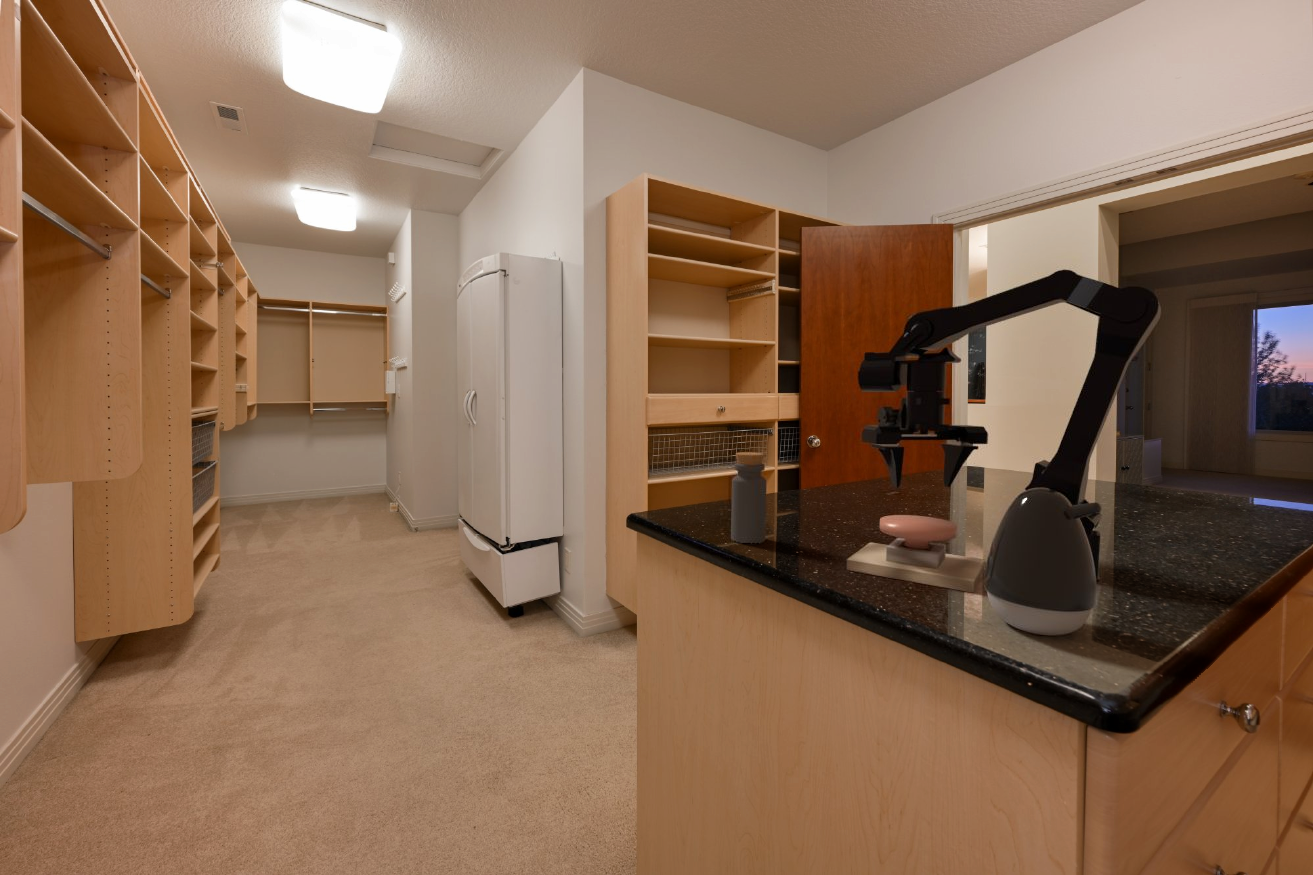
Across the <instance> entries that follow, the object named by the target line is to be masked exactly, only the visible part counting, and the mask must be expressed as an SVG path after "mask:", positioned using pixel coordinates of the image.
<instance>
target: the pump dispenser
mask: <svg viewBox="0 0 1313 875" xmlns="http://www.w3.org/2000/svg"><path fill="white" fill-rule="evenodd" d="M1102 511H1103V510H1102V505H1101V504H1100V503H1099V502H1089V503H1087V504H1080V505H1072V504H1071V503H1070V502H1069V500H1068V499H1067V498H1066V497H1065V496H1064V495H1062V494H1061V493H1059V492H1057V491H1055V490H1052V489H1049V488H1032V489H1029V490H1024V491H1022V492H1020V493H1019V494H1018V495H1017V496H1016V497H1015V498H1014V499H1013V501H1012V502H1011V503H1010V504H1009V506H1008V508H1007V509H1006V511H1005V512H1004V513H1003V516H1002V518H1001V520H1000V522H999V524H998V526H997V528H996V531H995V533H994V535H993V538H992V542H991V544H990V547H989V550H988V554H987V560H986V565H985V567H984V572H983V574H984V575H983V588H984V590H986V592H987V598H988V600H989V603H990V605H991V608H992V609H993V610H994V612H995V614H996V615H998V617H999V618H1000V619H1002V621H1004V622H1005V623H1007V624H1008V625H1010V626H1012V627H1014V628H1015V629H1018V630H1021V631H1023V632H1027V633H1030V634H1034V635H1040V636H1062V635H1067V634H1071V633H1073V632H1076V631H1077V630H1078V629H1080V628H1081V627H1082V626H1083V625H1085V623H1086V622H1087V621H1088V619H1089V617H1090V615H1091V613H1092V611H1093V609H1094V608H1096V607H1097V603H1098V602H1097V601H1098V587H1097V586H1098V584H1097V583H1098V582H1096V574H1095V567H1094V561H1093V556H1092V552H1091V548H1090V545H1089V541H1088V538H1087V535H1086V533H1085V530H1084V527H1083V525H1082V523H1081V520H1080V518H1081V517H1085V516H1089V515H1092V514H1094V513H1101V512H1102Z"/></svg>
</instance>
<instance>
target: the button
mask: <svg viewBox="0 0 1313 875" xmlns="http://www.w3.org/2000/svg"><path fill="white" fill-rule="evenodd" d="M879 531H881V533H884V534H886V535H888V536H892V537H896V538H903V539H905V542H904V545H905V546H907V547H911V548H917V549H926V548H929V542H938V541H939V542H940V541H941V542H942V541H951V540H954V539H956V538H957V534H958V533H957V532H958V525H957V524H956V523H954V522H952V521H950V520H946V519H942V518H938V517H931V516H923V515H914V514H913V515H911V514H910V515H909V514H893V515H886V516H882V517H880V519H879Z"/></svg>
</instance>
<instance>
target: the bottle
mask: <svg viewBox="0 0 1313 875" xmlns="http://www.w3.org/2000/svg"><path fill="white" fill-rule="evenodd" d="M764 456H765V454H764V453H762V452H754V451H753V452H752V451H751V452H749V451H748V452H747V451H746V452H745V451H744V452H743V451H742V452H736V453H735V457H736V463H734V470H736V471H737V475H735V476H734V477H733V478H732V479H731V512H730V513H731V517H730V518H731V523H730V524H731V525H730V526H731V527H730V538H731V541H732V540H733V542H734V541H736V542H735V543H737V542H740V543H739V544H742V543H751V544H750V545H753V544H752V543H755V544H754V545H757V544H756V543H759V544H763V543H765V542H764V541H766V532H767V531H766V530H767V528H766V527H767V526H766V525H767V479H766V478H765V477H764V476H762V471H765V468H766V465H765V464H764V463H763V459H764ZM762 542H763V543H762Z"/></svg>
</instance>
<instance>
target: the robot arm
mask: <svg viewBox="0 0 1313 875" xmlns="http://www.w3.org/2000/svg"><path fill="white" fill-rule="evenodd" d="M1061 303H1062V304H1063V303H1066V304H1068V305H1070V306H1073V307H1075V308H1077V309H1079V310H1082V311H1084V312H1087V313H1088V314H1092V315H1093V316H1097V317H1098V324H1097V328H1096V339H1095V348H1094V356H1093V359H1092V361H1091V364H1090V367H1089V369H1088V371H1087V374H1086V377H1085V379H1084V382H1083V384H1082V387H1081V388H1080V393H1079V394H1078V398H1077V399H1076V402H1075V405H1074V407H1073V409H1072V413H1071V415H1070V417H1069V420H1068V421H1067V422H1068V423H1067V425H1066V427H1065V431H1064V432H1063V436H1062V437H1061V441H1060V443H1059V446H1058V448H1057V451H1056V453H1055V454H1054V456H1053V457H1052V459H1051V460H1050V461H1048V460H1046V459H1043V460H1041V461H1038V462H1036V463H1034V466H1033V472H1032V478H1031V480H1030V482H1029V484H1028V485H1027V486H1026V487H1025V488H1024V491H1026V490H1029V489H1032V488H1049V489H1052V490H1055V491H1057V492H1059V493H1061V494H1062V495H1064V496H1065V497H1066V498H1067V499H1068V500H1069V502H1070V503H1071V504H1072V505H1080V504H1087V503H1090V502H1089V501H1088V500H1087V499H1086V491H1087V486H1088V481H1089V480H1088V479H1089V472H1090V461H1091V458H1092V455H1093V453H1094V450H1095V447H1096V445H1097V443H1098V440H1099V438H1100V436H1101V432H1102V430H1103V428H1104V426H1105V423H1106V421H1107V418H1108V416H1109V413H1110V411H1111V408H1112V406H1113V404H1114V401H1115V398H1116V396H1117V393H1118V391H1119V388H1120V387H1121V383H1122V381H1123V379H1124V376H1125V375H1126V372H1127V369H1128V367H1129V365H1130V363H1131V361H1132V360H1133V358H1134V357H1135V356H1136V355H1137V353H1138V352H1139V351H1140V349H1141V347H1142V346H1143V345H1144V343H1145V342H1146V340H1147V339H1148V337H1149V336H1150V334H1151V333H1152V331H1153V330H1154V328H1155V326H1156V325H1157V324H1158V322H1159V320H1160V318H1161V314H1162V310H1161V309H1162V308H1161V304H1160V302H1159V299H1158V298H1157V296H1156V295H1155V293H1154V292H1152V291H1151V290H1150V289H1148V288H1146V287H1141V286H1139V285H1138V286H1137V285H1136V286H1126V287H1122V288H1120V287H1118V286H1115V285H1113V284H1109V283H1106V282H1103V281H1100V280H1097V279H1093V278H1090V277H1086V276H1083V275H1080V274H1078V273H1077V272H1075V271H1073V270H1071V269H1060V270H1056V271H1055V272H1053V273H1051V274H1049V275H1047V276H1045V277H1042V278H1039V279H1036V280H1033V281H1030V282H1027V283H1025V284H1024V283H1023V284H1021V285H1019V286H1016V287H1012V288H1009V289H1006V290H1005V291H1001V292H998V293H995V294H993V295H990V296H987V297H984V298H981V299H978V300H975V301H973V302H970V303H969V302H968V303H967V304H964V305H958V306H950V307H941V308H940V307H939V308H934V309H929V310H923V311H920V312H919V311H918V312H916V313H914V314H912V315H911V316H910V317H908V319H907V321H906V323H905V325H904V328H903V332H902V334H901V335H900V337H899V338H898V339H897V341H896V343H894V345H893V346H892V347H891V349H890V350H889V351H888V352H874V351H867V352H864V355H863V356H864V357H863V358H864V359H863V360H862V361H861V363H860V366H859V370H858V371H857V381H858V387H859V388H860V391H862V392H863V393H864V392H866V393H868V392H870V393H872V392H873V393H874V392H875V393H880V392H883V393H887V392H889V393H890V392H891V393H892V392H893V393H894V392H895V393H896V392H899V390H901V389H902V387H904V386H905V387H906V390H905V391H906V392H905V397H902V398H901V401H900V407H899V409H898V408H897V409H896V408H895V409H894V408H893V406H881V407H878V410H877V411H878V412H877V423H878V424H876V425H875V424H874V425H873V424H871V425H870V424H869V425H868V424H867V425H865V426H864V427H863V429H862V431H861V442H863V443H867V444H870V446H871V448H875V449H877V451H878V452H879V453H880V454H881V456H882V458H883V460H884V461H885V464H886V467H887V470H888V473H889V476H890V480H891V483H892V485H893V487H894V488H896V489H899V488H900V486H901V482H902V476H903V475H902V473H903V464H904V455H905V446H901V445H900V442H901V441H946V443H940V444H941V448H942V450H943V453H944V461H943V462H944V463H943V466H944V467H943V486H944V487H945V488H951V486H952V485H953V482H954V481H955V479H956V477H957V475H958V474H959V472H960V470H961V469H962V467H963V465H964V464H965V462H966V461H967V459H968V458H969V457H970V456H971V454H972V453H973V451H975V450H979V446H977V445H988V444H989V433H988V431H987V429H986V428H985V426H982V425H981V426H980V425H978V426H977V425H971V424H970V425H967V424H966V425H965V424H963V425H962V424H958V425H957V424H952V425H951V424H948V423H945V406H946V405H950V403H951V399H950V397H946V378H947V377H946V376H947V364H959V363H961V362H962V358H960V357H959V356H958V355H957V354H955V353H954V352H953V350H952V348H951V347H950V348H949V347H947V346H948V345H951V344H953V343H955V342H957V341H959V340H961V339H962V338H964V337H965V336H967V335H968V334H970V333H972V332H974V331H977V330H978V329H981V328H986V327H988V326H991V325H995V324H998V323H1001V322H1004V321H1008V320H1010V319H1014V318H1016V317H1019V316H1023V315H1026V314H1028V313H1033V312H1036V311H1038V310H1041V309H1044V308H1048V307H1051V306H1054V305H1057V304H1061ZM940 349H942V350H941V351H939V352H933V351H938V350H940ZM929 351H932V352H929ZM908 358H910V359H909V360H907V359H908ZM911 358H917V359H912V360H911ZM1102 518H1103V514H1102V513H1101V512H1100V513H1094V514H1092V515H1089V516H1085V517H1081V518H1080V520H1081V523H1082V525H1083V527H1084V530H1085V533H1086V535H1087V538H1088V541H1089V545H1090V548H1091V552H1092V556H1093V561H1094V567H1095V574H1096V583H1100V580H1101V579H1100V574H1099V566H1100V548H1101V532H1100V531H1099V530H1095V529H1096V528H1097V527H1098V525H1099V523H1100V522H1101V520H1102Z"/></svg>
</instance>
